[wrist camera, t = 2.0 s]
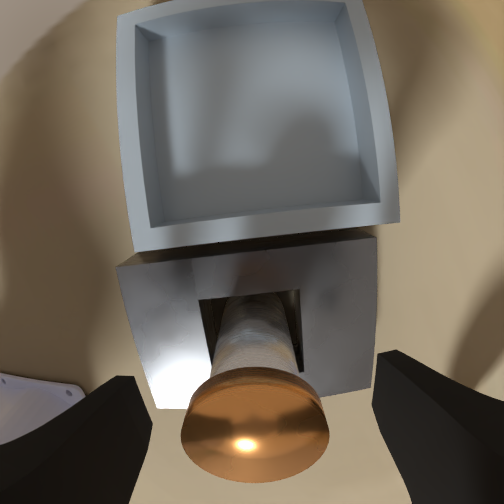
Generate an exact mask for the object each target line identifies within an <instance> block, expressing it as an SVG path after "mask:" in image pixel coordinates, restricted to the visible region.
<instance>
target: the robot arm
mask: <svg viewBox="0 0 504 504" xmlns="http://www.w3.org/2000/svg"><path fill="white" fill-rule="evenodd" d="M372 408H373V411H374V414H375V417H376V420H377V423H378V426H379V429H380V432H381V434H382V436H383V439H384V441H385V443H386V445H387V447H388V449H389V451H390V453H391V455H392V457H393V459H394V461H395V464H396V466H397V468H398V470H399V472H400V474H401V476H402V478H403V480H404V483H405V485H406V487H407V490H408V492H409V495H410V498H411V501H412V504H504V401H501V400H498V399H495V398H492V397H489V396H487V395H484V394H482V393H479V392H477V391H475V390H473V389H470V388H468V387H466V386H464V385H462V384H460V383H457V382H455V381H453V380H451V379H450V378H448V377H446V376H444V375H442V374H440V373H438V372H436V371H435V370H433V369H431V368H429V367H427V366H426V365H424V364H422V363H420V362H419V361H417V360H415V359H413V358H411V357H410V356H408V355H406V354H404V353H402V352H400V351H398V350H392V351H388V352H383V353H379V354H377V365H376V375H375V383H374V391H373V399H372ZM152 425H153V423H152V421H151V418H150V416H149V414H148V411H147V409H146V406H145V404H144V401H143V399H142V396H141V394H140V391H139V388H138V386H137V383H136V380H135V378H134V376H115V377H114V378H112V379H110V380H109V381H107V382H106V383H104V384H103V385H101V386H100V387H98V388H97V389H96V390H94V391H93V392H91V393H90V394H89V395H87V396H85V394H84V392H83V390H82V389H81V388H80V387H79V386H77V385H73V384H64V383H56V382H49V381H42V380H36V379H29V378H24V377H18V376H13V375H8V374H3V373H0V504H129V501H130V498H131V496H132V493H133V490H134V487H135V484H136V482H137V479H138V476H139V473H140V470H141V468H142V465H143V462H144V459H145V456H146V453H147V450H148V446H149V441H150V436H151V430H152Z"/></svg>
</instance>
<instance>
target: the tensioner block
mask: <svg viewBox="0 0 504 504" xmlns="http://www.w3.org/2000/svg"><path fill="white" fill-rule="evenodd" d="M116 271H117V275H118V280H119V284H120V288H121V293H122V297H123V301H124V305H125V309H126V312H127V316H128V320H129V323H130V327H131V330H132V334H133V337H134V341H135V344H136V347H137V351H138V354H139V357H140V360H141V363H142V366H143V369H144V372H145V375H146V378H147V381H148V384H149V387H150V389H151V392H152V395H153V398H154V400H155V403H156V406H157V408H187V407H188V404H189V401H190V398H191V396H192V395H193V393H194V392H195V390H196V389H197V388H198V387H199V386H200V385H201V384H202V383H203V382H205V381H206V380H208V379H209V378H210V373H211V368H212V363H213V359H214V354H215V349H216V345H217V340H218V339H217V334H216V329H215V323H214V318H213V312H212V307H211V301H210V299H212V298H222V297H232V296H242V295H251V294H260V293H269V292H278V291H286V290H293V293H294V306H295V319H296V334H297V345H293V350H294V354H295V358H296V363H297V367H298V371H299V376H300V378H302V379H303V380H304V381H306V382H307V383H309V384H310V385H311V386H312V387H313V388H314V390H315V391H316V392H317V394H318V396H319V397H325V396H331V395H337V394H342V393H347V392H352V391H357V390H362V389H366V388H371V379H372V370H373V359H374V346H375V331H376V309H377V238H376V237H374V236H372V235H370V234H368V233H366V232H364V231H362V230H360V229H357V228H351V229H342V230H332V231H323V232H314V233H305V234H296V235H286V236H278V237H269V238H260V239H251V240H242V241H234V242H225V243H217V244H208V245H200V246H192V247H183V248H175V249H167V250H159V251H151V252H143V253H137V254H135V255H133V256H132V257H130V258H129V259H127V260H126V261H124V262H123V263H121V264H120V265H118V266H117V267H116Z"/></svg>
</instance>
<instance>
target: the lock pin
mask: <svg viewBox="0 0 504 504" xmlns="http://www.w3.org/2000/svg"><path fill="white" fill-rule="evenodd" d="M181 442H182V446H183V448H184V450H185V452H186V454H187V455H188V456H189V458H190V459H191V460H192V461H193V462H194V463H195V464H196V465H198V466H199V467H200V468H202V469H204V470H205V471H207V472H209V473H211V474H213V475H215V476H218V477H221V478H224V479H227V480H232V481H237V482H245V483H264V482H272V481H277V480H281V479H285V478H288V477H291V476H294V475H296V474H298V473H300V472H302V471H304V470H306V469H307V468H309V467H310V466H312V465H313V464H314V463H315V462H316V461H317V460H318V459H319V458H320V457H321V456H322V455H323V453H324V452H325V450H326V448H327V445H328V443H329V428H328V425H327V421H326V418H325V414H324V411H323V407H322V404H321V400H320V398H319V396H318V394H317V392H316V391H315V390H314V388H313V387H312V386H311V385H310V384H309V383H307V382H306V381H304V380H303V379H302V378H300V376H299V371H298V367H297V363H296V358H295V354H294V350H293V345H292V341H291V337H290V333H289V328H288V324H287V320H286V316H285V311H284V307H283V304H282V302H281V300H280V299H279V297H278V296H277V295H276V294H275V293H274V292H269V293H260V294H251V295H242V296H232V297H229V299H228V300H227V302H226V304H225V307H224V312H223V317H222V321H221V326H220V331H219V335H218V340H217V345H216V349H215V354H214V359H213V363H212V368H211V373H210V378H209V379H208V380H206V381H205V382H203V383H202V384H201V385H200V386H199V387H198V388H197V389H196V390H195V392H194V393H193V395H192V396H191V398H190V401H189V404H188V407H187V411H186V415H185V418H184V422H183V426H182V430H181Z"/></svg>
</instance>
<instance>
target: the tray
mask: <svg viewBox="0 0 504 504" xmlns="http://www.w3.org/2000/svg"><path fill="white" fill-rule="evenodd" d="M116 87H117V111H118V128H119V141H120V152H121V162H122V171H123V180H124V188H125V195H126V202H127V209H128V216H129V222H130V228H131V234H132V240H133V245H134V251H135V252H142V251H150V250H158V249H166V248H174V247H182V246H190V245H198V244H207V243H215V242H224V241H232V240H241V239H249V238H258V237H267V236H276V235H285V234H294V233H303V232H312V231H321V230H331V229H340V228H350V227H360V226H369V225H379V224H389V223H400V206H399V190H398V177H397V166H396V156H395V148H394V140H393V132H392V125H391V119H390V112H389V107H388V101H387V95H386V90H385V85H384V80H383V75H382V71H381V66H380V62H379V58H378V54H377V50H376V46H375V42H374V38H373V34H372V31H371V27H370V24H369V21H368V17H367V14H366V11H365V8H364V5H363V1H362V0H172V1H168V2H164V3H160V4H156V5H152V6H149V7H145V8H141V9H138V10H135V11H131V12H128V13H125V14H122V15H119V16H117V38H116Z"/></svg>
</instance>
